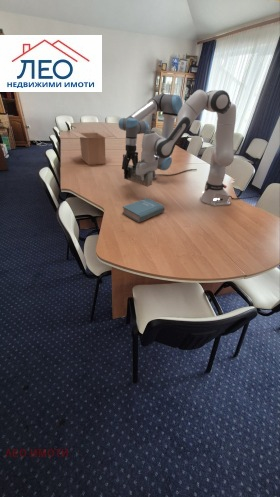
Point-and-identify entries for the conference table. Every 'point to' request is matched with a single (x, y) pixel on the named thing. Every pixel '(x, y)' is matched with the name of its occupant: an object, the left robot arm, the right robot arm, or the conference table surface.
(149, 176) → the bar
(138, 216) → the book
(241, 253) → the conference table surface
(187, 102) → the right robot arm
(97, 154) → the box
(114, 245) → the conference table surface
